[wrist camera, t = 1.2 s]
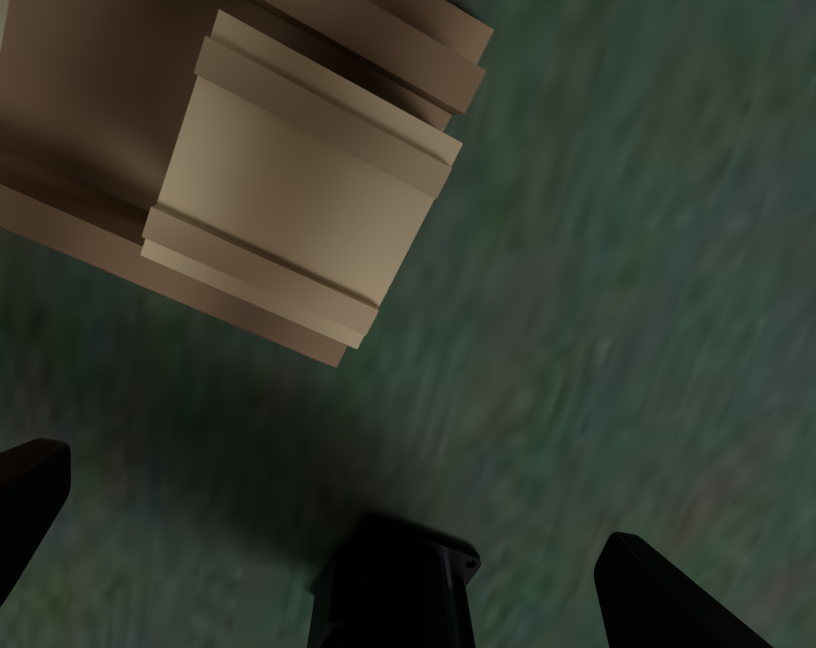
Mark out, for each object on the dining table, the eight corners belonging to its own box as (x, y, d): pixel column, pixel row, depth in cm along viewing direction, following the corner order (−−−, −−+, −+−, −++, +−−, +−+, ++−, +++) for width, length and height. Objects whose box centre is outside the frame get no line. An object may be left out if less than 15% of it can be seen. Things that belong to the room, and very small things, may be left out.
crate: (441, 136, 17) (464, 144, 12) (364, 291, 18) (356, 353, 14) (270, 42, 15) (214, 6, 10) (206, 218, 17) (134, 258, 12)
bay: (488, 34, 17) (521, 6, 12) (330, 353, 21) (315, 412, 17) (-152, -354, 13) (-411, -582, 9) (-188, 132, 17) (-375, 136, 13)
